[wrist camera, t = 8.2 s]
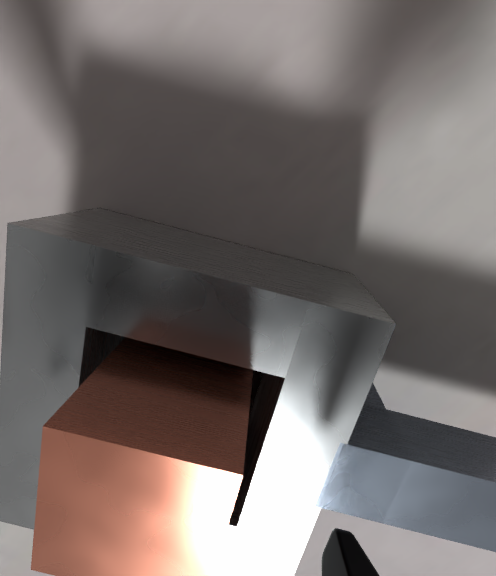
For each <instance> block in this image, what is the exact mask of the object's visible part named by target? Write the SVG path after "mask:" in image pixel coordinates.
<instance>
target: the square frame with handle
mask: <svg viewBox="0 0 496 576" xmlns="http://www.w3.org/2000/svg"><path fill="white" fill-rule="evenodd" d="M395 326H396V323H395V322H394V321H393V320H392V319H391V317H390V316H389V315H388V314H387V313H386V312H385V310H384V309H383V308H382V307H381V306H380V305H379V303H378V302H377V301H376V300H375V299H374V298H373V297H372V295H371V294H370V293H369V292H368V291H367V290H366V288H365V287H364V286H363V285H362V284H361V283H360V282H359V280H358V279H357V278H356V277H355V276H354V275H353V274H350V273H347V272H343V271H339V270H335V269H331V268H328V267H324V266H320V265H316V264H312V263H308V262H305V261H301V260H297V259H293V258H289V257H285V256H282V255H278V254H274V253H270V252H266V251H263V250H259V249H255V248H251V247H247V246H243V245H240V244H236V243H232V242H228V241H224V240H220V239H217V238H213V237H209V236H205V235H201V234H198V233H194V232H190V231H186V230H182V229H178V228H175V227H171V226H167V225H163V224H159V223H155V222H152V221H148V220H144V219H140V218H136V217H132V216H129V215H125V214H121V213H117V212H113V211H110V210H106V209H102V208H97V209H91V210H85V211H79V212H72V213H66V214H60V215H54V216H48V217H42V218H35V219H29V220H23V221H17V222H11V223H8V225H7V246H6V267H5V288H4V309H3V330H2V351H1V372H0V521H2V522H6V523H10V524H14V525H18V526H22V527H26V528H30V529H34V526H35V514H36V502H37V490H38V477H39V465H40V453H41V441H42V429H43V425H44V424H45V423H46V422H47V421H48V420H49V419H50V418H51V417H52V416H53V415H54V413H55V412H56V411H57V410H58V409H59V408H60V407H61V406H62V405H63V404H64V403H65V402H66V401H67V399H68V398H69V397H70V396H71V395H72V394H73V393H74V392H75V391H76V390H77V389H78V388H79V387H80V386H81V384H82V383H83V382H84V381H85V380H86V379H87V378H88V377H89V376H90V375H91V374H92V373H93V372H94V370H95V369H96V368H97V367H98V366H99V365H100V364H101V363H102V362H103V361H104V360H105V359H106V358H107V356H108V355H109V354H110V353H111V352H112V351H113V350H114V349H115V348H116V347H117V346H118V345H119V344H120V342H121V341H122V340H123V339H124V338H125V337H127V338H131V339H135V340H139V341H143V342H147V343H151V344H155V345H158V346H162V347H166V348H170V349H174V350H178V351H182V352H186V353H190V354H193V355H197V356H201V357H205V358H209V359H213V360H217V361H221V362H225V363H228V364H232V365H236V366H240V367H244V368H248V369H252V370H256V371H260V372H263V373H262V376H261V380H260V383H259V386H258V390H257V393H256V396H255V400H254V403H253V406H252V410H251V413H250V416H249V420H248V429H247V440H246V450H245V460H244V471H243V477H242V481H241V484H240V487H239V491H238V494H237V497H236V501H235V504H234V507H233V511H232V514H231V517H230V521H229V524H228V527H227V531H226V534H225V537H224V541H223V544H222V547H221V551H220V554H219V557H218V561H217V564H216V567H215V571H214V575H218V576H294V573H295V571H296V568H297V566H298V564H299V561H300V559H301V556H302V554H303V551H304V549H305V546H306V544H307V542H308V539H309V537H310V534H311V532H312V529H313V527H314V524H315V522H316V520H317V517H318V515H319V512H320V510H321V508H324V509H328V510H332V511H336V512H340V513H344V514H348V515H352V516H355V517H359V518H363V519H367V520H371V521H375V522H379V523H383V524H387V525H391V526H395V527H399V528H403V529H407V530H411V531H415V532H419V533H423V534H427V535H431V536H435V537H438V538H442V539H446V540H450V541H454V542H458V543H462V544H466V545H470V546H474V547H478V548H482V549H486V550H490V551H494V552H496V437H492V436H488V435H484V434H480V433H476V432H472V431H469V430H465V429H461V428H457V427H453V426H449V425H445V424H441V423H437V422H434V421H430V420H426V419H422V418H418V417H414V416H410V415H406V414H402V413H399V412H395V411H391V410H387V409H386V408H385V406H384V404H383V402H382V400H381V398H380V396H379V394H378V392H377V390H376V388H375V386H374V384H373V380H374V378H375V375H376V373H377V370H378V368H379V365H380V363H381V361H382V358H383V356H384V353H385V351H386V348H387V346H388V343H389V341H390V339H391V336H392V334H393V331H394V329H395Z"/></svg>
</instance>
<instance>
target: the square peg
mask: <svg viewBox="0 0 496 576" xmlns="http://www.w3.org/2000/svg"><path fill="white" fill-rule="evenodd" d="M252 377H253V370H252V369H248V368H244V367H240V366H236V365H232V364H228V363H225V362H221V361H217V360H213V359H209V358H205V357H201V356H197V355H193V354H190V353H186V352H182V351H178V350H174V349H170V348H166V347H162V346H158V345H155V344H151V343H147V342H143V341H139V340H135V339H131V338H127V337H125V338H124V339H123V340H122V341H121V342H120V344H119V345H118V346H117V347H116V348H115V349H114V350H113V351H112V352H111V353H110V354H109V355H108V356H107V358H106V359H105V360H104V361H103V362H102V363H101V364H100V365H99V366H98V367H97V368H96V369H95V370H94V372H93V373H92V374H91V375H90V376H89V377H88V378H87V379H86V380H85V381H84V382H83V383H82V384H81V386H80V387H79V388H78V389H77V390H76V391H75V392H74V393H73V394H72V395H71V396H70V397H69V398H68V399H67V401H66V402H65V403H64V404H63V405H62V406H61V407H60V408H59V409H58V410H57V411H56V412H55V413H54V415H53V416H52V417H51V418H50V419H49V420H48V421H47V422H46V423H45V424H44V425H43V429H42V441H41V453H40V465H39V477H38V490H37V502H36V514H35V526H34V538H33V550H32V562H31V570H35V571H39V572H43V573H47V574H51V575H55V576H213V574H214V571H215V567H216V564H217V561H218V557H219V554H220V551H221V547H222V544H223V541H224V537H225V534H226V531H227V527H228V524H229V521H230V517H231V514H232V511H233V507H234V504H235V501H236V497H237V494H238V491H239V487H240V484H241V481H242V477H243V471H244V460H245V450H246V440H247V429H248V419H249V408H250V398H251V388H252Z"/></svg>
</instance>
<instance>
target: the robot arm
mask: <svg viewBox="0 0 496 576" xmlns="http://www.w3.org/2000/svg"><path fill="white" fill-rule="evenodd" d="M322 576H379V574H378V573H377V571H376V570H375V568H374V566H373V565H372V563H371V562H370V560H369V559H368V557H367V555H366V554H365V552H364V551H363V549H362V548H361V546H360V544H359V543H358V541H357V540H356V538H355V537H354V535H353V534H352V533H351V532H349V531H345V530H341V529H334V530H333V531H332V533H331V535H330V538H329V540H328V542H327V545H326V547H325V549H324V552H323V556H322Z"/></svg>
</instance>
